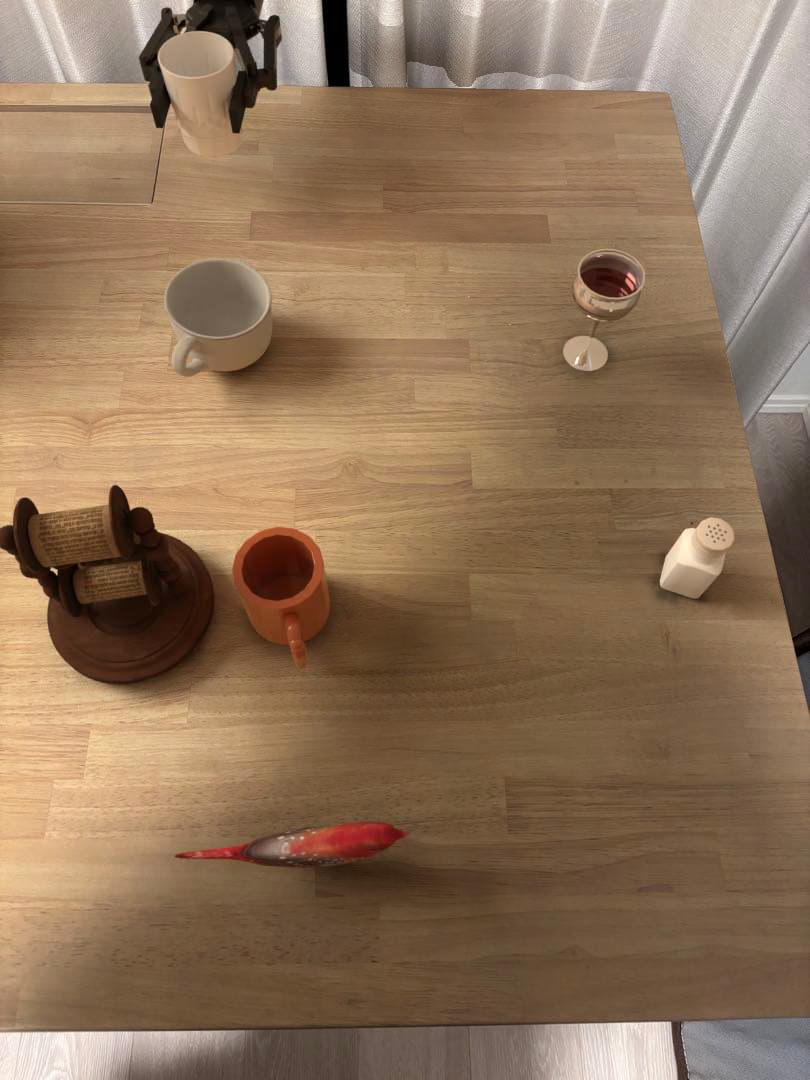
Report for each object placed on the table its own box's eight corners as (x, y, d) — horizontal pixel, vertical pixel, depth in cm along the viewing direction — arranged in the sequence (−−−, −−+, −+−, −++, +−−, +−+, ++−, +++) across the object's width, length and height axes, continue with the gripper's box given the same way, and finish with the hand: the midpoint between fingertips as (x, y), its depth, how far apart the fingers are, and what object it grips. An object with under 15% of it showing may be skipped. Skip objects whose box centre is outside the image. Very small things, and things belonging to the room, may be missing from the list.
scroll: (212, 531, 81) (161, 413, 63) (223, 675, 74) (170, 588, 56) (58, 553, 79) (-39, 438, 62) (56, 702, 73) (-53, 622, 55)
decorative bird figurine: (408, 864, 68) (411, 851, 59) (190, 883, 67) (159, 872, 58) (405, 827, 69) (408, 809, 60) (192, 845, 68) (162, 829, 59)
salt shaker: (697, 602, 78) (735, 560, 70) (656, 589, 79) (688, 545, 70) (705, 566, 80) (743, 521, 72) (665, 553, 81) (697, 507, 72)
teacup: (225, 294, 94) (211, 240, 87) (299, 338, 92) (291, 286, 85) (140, 373, 89) (118, 323, 82) (216, 422, 87) (200, 374, 79)
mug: (242, 580, 79) (225, 538, 70) (319, 561, 80) (312, 518, 72) (264, 686, 74) (248, 654, 66) (346, 664, 75) (341, 630, 67)
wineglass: (573, 385, 89) (598, 308, 79) (544, 340, 92) (564, 260, 81) (627, 365, 91) (659, 287, 80) (596, 322, 94) (623, 240, 83)
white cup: (179, 117, 96) (158, 32, 88) (247, 114, 97) (233, 28, 88) (178, 164, 93) (156, 80, 84) (249, 159, 94) (234, 75, 85)
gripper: (319, 29, 101) (294, 156, 91) (154, 18, 101) (110, 143, 91) (315, -37, 94) (287, 92, 84) (137, -49, 95) (88, 79, 84)
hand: (195, 119), depth 87 cm, fingers closed on white cup, 8 cm apart
